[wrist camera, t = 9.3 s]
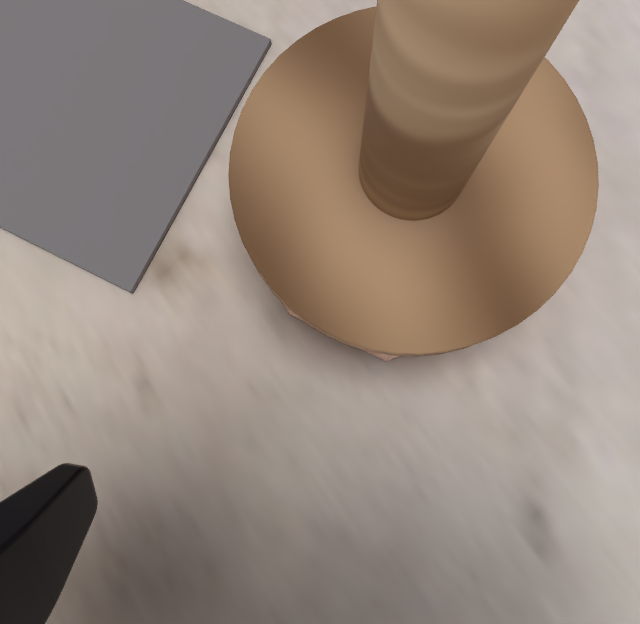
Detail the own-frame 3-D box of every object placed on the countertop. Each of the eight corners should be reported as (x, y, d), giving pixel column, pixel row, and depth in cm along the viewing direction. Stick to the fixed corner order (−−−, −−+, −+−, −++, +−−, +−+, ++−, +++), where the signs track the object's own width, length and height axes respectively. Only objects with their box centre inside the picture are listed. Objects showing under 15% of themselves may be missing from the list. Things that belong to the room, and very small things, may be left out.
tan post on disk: (386, 431, 17) (487, 486, 6) (167, 162, 18) (-74, -188, 7) (653, 206, 18) (1166, -105, 7) (424, -32, 19) (546, -597, 8)
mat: (133, 293, 22) (130, 292, 22) (-118, 168, 23) (-124, 165, 23) (271, 43, 24) (270, 39, 24) (30, -63, 25) (27, -69, 25)
